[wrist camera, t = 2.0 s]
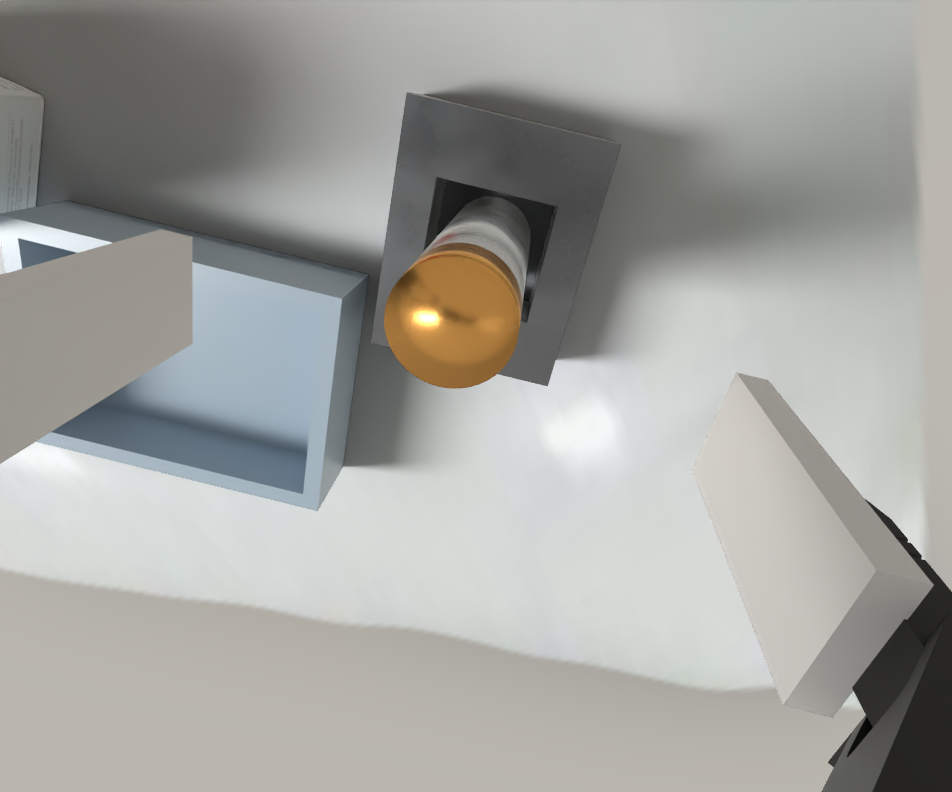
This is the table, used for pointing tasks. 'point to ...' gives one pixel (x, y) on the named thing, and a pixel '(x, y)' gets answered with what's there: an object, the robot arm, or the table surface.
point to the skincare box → (19, 145)
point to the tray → (222, 362)
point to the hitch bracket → (510, 172)
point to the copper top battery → (463, 297)
